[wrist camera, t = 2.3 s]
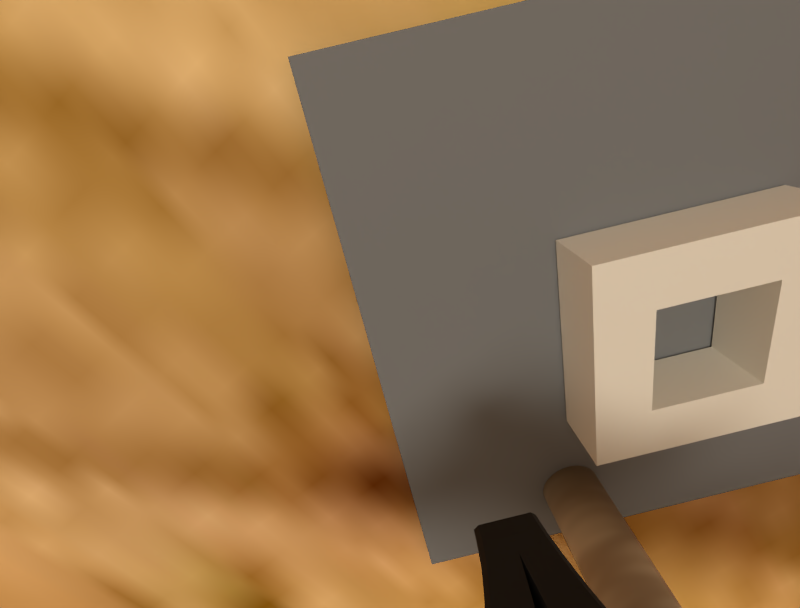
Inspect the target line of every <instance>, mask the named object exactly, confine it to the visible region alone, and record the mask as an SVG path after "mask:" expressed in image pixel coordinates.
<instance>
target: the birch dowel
mask: <svg viewBox="0 0 800 608" xmlns="http://www.w3.org/2000/svg"><path fill="white" fill-rule="evenodd" d="M543 494H544V497H545V499H546V501H547V504H548V506H549V508H550V510H551V512H552V514H553V516H554V518H555V520H556V522H557V524H558V526H559V528H560V530H561V532H562V534H563V536H564V538H565V540H566V542H567V544H568V547H569V549H570V551H571V553H572V555H573V557H574V559H575V561H576V563H577V565H578V567H579V569H580V571H581V573H582V575H583V577H584V579H585V581H586V583H587V585H588V587H589V588H590V589H591V590H592V591H593V593H594V594H595V595H596V596H597V597H598V599H599V600H600V601H601V602H602V603H603V604H604V606H605V607H606V608H682V607H681V606H680V604H679V603H678V601H677V600H676V598H675V596H674V595H673V593H672V592H671V590H670V589H669V587H668V586H667V584H666V583H665V581H664V580H663V578H662V576H661V575H660V573H659V572H658V570H657V569H656V567H655V566H654V564H653V563H652V561H651V560H650V558H649V556H648V555H647V553H646V552H645V550H644V549H643V547H642V546H641V544H640V543H639V541H638V540H637V538H636V536H635V535H634V533H633V532H632V530H631V529H630V527H629V526H628V524H627V523H626V521H625V519H624V518H623V516H622V515H621V513H620V512H619V510H618V509H617V507H616V506H615V504H614V503H613V501H612V499H611V498H610V496H609V495H608V493H607V492H606V490H605V489H604V487H603V486H602V484H601V483H600V481H599V479H598V478H597V476H596V475H595V473H594V472H593V471H592V470H591V469H589V468H587V467H584V466H570V467H566V468H563V469H561V470H559V471H557V472H556V473H554V474H553V475H552V476H551V477H550V478H549V479H548V480H547V482H546V483H545V485H544V489H543Z"/></svg>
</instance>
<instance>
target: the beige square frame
mask: <svg viewBox="0 0 800 608" xmlns="http://www.w3.org/2000/svg"><path fill="white" fill-rule="evenodd" d="M556 254H557V270H558V286H559V302H560V319H561V335H562V351H563V368H564V384H565V400H566V417H567V422H568V424H569V425H570V427H571V428H572V430H573V431H574V433H575V434H576V436H577V437H578V439H579V440H580V442H581V443H582V444H583V446H584V447H585V449H586V450H587V452H588V453H589V455H590V456H591V458H592V459H593V461H594V462H595V464H596V465H597V466H599V465H603V464H607V463H611V462H615V461H619V460H623V459H628V458H632V457H636V456H640V455H644V454H648V453H652V452H656V451H660V450H664V449H668V448H673V447H677V446H681V445H685V444H689V443H693V442H697V441H701V440H705V439H709V438H713V437H718V436H722V435H726V434H730V433H734V432H738V431H742V430H746V429H750V428H754V427H758V426H763V425H767V424H771V423H775V422H779V421H783V420H787V419H791V418H795V417H799V416H800V188H797V187H793V186H788V185H783V186H779V187H774V188H770V189H766V190H762V191H758V192H754V193H749V194H745V195H741V196H737V197H733V198H729V199H725V200H720V201H716V202H712V203H708V204H704V205H700V206H695V207H691V208H687V209H683V210H679V211H675V212H671V213H666V214H662V215H658V216H654V217H650V218H646V219H641V220H637V221H633V222H629V223H625V224H621V225H617V226H612V227H608V228H604V229H600V230H596V231H592V232H587V233H583V234H579V235H575V236H571V237H567V238H563V239H558V240H556ZM713 296H717V301H716V310H715V319H714V328H713V337H712V346H711V347H708V348H704V349H700V350H696V351H692V352H688V353H683V354H679V355H675V356H671V357H667V358H663V359H659V360H655V361H654V356H655V334H656V312H657V310H660V309H664V308H668V307H672V306H676V305H680V304H684V303H688V302H693V301H697V300H701V299H705V298H709V297H713Z"/></svg>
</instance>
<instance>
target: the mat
mask: <svg viewBox="0 0 800 608" xmlns="http://www.w3.org/2000/svg"><path fill="white" fill-rule="evenodd" d="M288 59H289V62H290V66H291V69H292V73H293V76H294V80H295V83H296V87H297V90H298V94H299V97H300V101H301V105H302V108H303V112H304V115H305V119H306V122H307V126H308V129H309V133H310V136H311V140H312V143H313V147H314V150H315V154H316V157H317V161H318V164H319V168H320V171H321V175H322V178H323V182H324V186H325V189H326V193H327V196H328V200H329V203H330V207H331V210H332V214H333V217H334V221H335V224H336V228H337V231H338V235H339V238H340V242H341V245H342V249H343V252H344V256H345V259H346V263H347V267H348V270H349V274H350V277H351V281H352V284H353V288H354V291H355V295H356V298H357V302H358V305H359V309H360V312H361V316H362V319H363V323H364V326H365V330H366V333H367V337H368V340H369V344H370V348H371V351H372V355H373V358H374V362H375V365H376V369H377V372H378V376H379V379H380V383H381V386H382V390H383V393H384V397H385V400H386V404H387V407H388V411H389V414H390V418H391V421H392V425H393V429H394V432H395V436H396V439H397V443H398V446H399V450H400V453H401V457H402V460H403V464H404V467H405V471H406V474H407V478H408V481H409V485H410V488H411V492H412V495H413V499H414V502H415V506H416V510H417V513H418V517H419V520H420V524H421V527H422V531H423V534H424V538H425V541H426V545H427V548H428V552H429V555H430V559H431V562H432V564H435V563H439V562H443V561H447V560H451V559H456V558H460V557H464V556H468V555H472V554H476V553H479V552H478V547H477V542H476V538H475V533H474V529H475V528H476V527H477V526H478V525H481V524H485V523H489V522H493V521H497V520H501V519H505V518H509V517H513V516H517V515H521V514H526V513H530V512H531V513H533V514H535V515H536V516H537V517H538V519H539V521H540V522H541V524H542V525H543V527H544V528H545V530H546V531H547V533H548V534H549V535H553V534H557V533H562V532H561V530H560V528H559V526H558V524H557V522H556V520H555V518H554V516H553V514H552V512H551V510H550V508H549V506H548V504H547V501H546V499H545V497H544V494H543V489H544V485H545V483H546V482H547V480H548V479H549V478H550V477H551V476H552V475H553V474H554V473H556V472H557V471H559V470H561V469H563V468H566V467H570V466H584V467H587V468H589V469H591V470H592V471H593V472H594V473H595V475H596V476H597V478H598V479H599V481H600V483H601V484H602V486H603V487H604V489H605V490H606V492H607V493H608V495H609V496H610V498H611V499H612V501H613V503H614V504H615V506H616V507H617V509H618V510H619V512H620V513H621V515H622V516H623V517H627V516H631V515H635V514H639V513H643V512H647V511H651V510H655V509H659V508H663V507H668V506H672V505H676V504H680V503H684V502H688V501H692V500H696V499H700V498H704V497H708V496H712V495H717V494H721V493H725V492H729V491H733V490H737V489H741V488H745V487H749V486H753V485H757V484H761V483H765V482H770V481H774V480H778V479H782V478H786V477H790V476H794V475H798V474H800V416H799V417H795V418H791V419H787V420H783V421H779V422H775V423H771V424H767V425H763V426H758V427H754V428H750V429H746V430H742V431H738V432H734V433H730V434H726V435H722V436H718V437H713V438H709V439H705V440H701V441H697V442H693V443H689V444H685V445H681V446H677V447H673V448H668V449H664V450H660V451H656V452H652V453H648V454H644V455H640V456H636V457H632V458H628V459H623V460H619V461H615V462H611V463H607V464H603V465H599V466H597V465H596V464H595V462H594V461H593V459H592V458H591V456H590V455H589V453H588V452H587V450H586V449H585V447H584V446H583V444H582V443H581V442H580V440H579V439H578V437H577V436H576V434H575V433H574V431H573V430H572V428H571V427H570V425H569V424H568V422H567V417H566V400H565V384H564V368H563V351H562V335H561V319H560V302H559V286H558V270H557V254H556V240H558V239H563V238H567V237H571V236H575V235H579V234H583V233H587V232H592V231H596V230H600V229H604V228H608V227H612V226H617V225H621V224H625V223H629V222H633V221H637V220H641V219H646V218H650V217H654V216H658V215H662V214H666V213H671V212H675V211H679V210H683V209H687V208H691V207H695V206H700V205H704V204H708V203H712V202H716V201H720V200H725V199H729V198H733V197H737V196H741V195H745V194H749V193H754V192H758V191H762V190H766V189H770V188H774V187H779V186H783V185H788V186H793V187H797V188H800V0H526V1H522V2H518V3H514V4H509V5H505V6H501V7H497V8H493V9H488V10H484V11H480V12H476V13H471V14H467V15H463V16H459V17H455V18H450V19H446V20H442V21H438V22H433V23H429V24H425V25H421V26H417V27H412V28H408V29H404V30H400V31H395V32H391V33H387V34H383V35H379V36H374V37H370V38H366V39H362V40H357V41H353V42H349V43H345V44H341V45H336V46H332V47H328V48H324V49H320V50H315V51H311V52H307V53H303V54H298V55H294V56H290V57H288ZM716 301H717V296H713V297H709V298H705V299H701V300H697V301H693V302H688V303H684V304H680V305H676V306H672V307H668V308H664V309H660V310H657V312H656V334H655V356H654V361H655V360H659V359H663V358H667V357H671V356H675V355H679V354H683V353H688V352H692V351H696V350H700V349H704V348H708V347H711V346H712V337H713V328H714V319H715V310H716Z"/></svg>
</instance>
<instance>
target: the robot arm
mask: <svg viewBox="0 0 800 608" xmlns="http://www.w3.org/2000/svg"><path fill="white" fill-rule="evenodd" d="M474 533H475V538H476V542H477V547H478V552H479V557H480V562H481V567H482V575H483V586H484V599H485V608H606V607H605V606H604V604H603V603H602V602H601V601H600V600H599V599H598V597H597V596H596V595H595V594H594V593H593V591H592V590H591V589H590V588H589V587H588V585H587V584H586V583H585V582H584V581H583V579H582V578H581V577H580V576H579V574H578V573H577V572H576V571H575V569H574V568H573V567H572V565H571V564H570V563H569V561H568V560H567V559H566V558H565V556H564V555H563V554H562V552H561V551H560V550H559V548H558V547H557V545H556V544H555V543H554V541H553V540H552V538H551V537H550V536H549V534H548V533H547V531H546V530H545V528H544V527H543V525H542V524H541V522H540V521H539V519H538V517H537V516H536V515H535V514H533V513H531V512H530V513H526V514H521V515H517V516H513V517H509V518H505V519H501V520H497V521H493V522H489V523H485V524H481V525H478V526H477V527H476V528H475V529H474Z"/></svg>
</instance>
